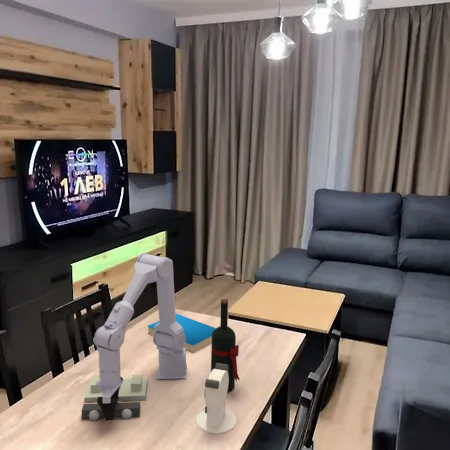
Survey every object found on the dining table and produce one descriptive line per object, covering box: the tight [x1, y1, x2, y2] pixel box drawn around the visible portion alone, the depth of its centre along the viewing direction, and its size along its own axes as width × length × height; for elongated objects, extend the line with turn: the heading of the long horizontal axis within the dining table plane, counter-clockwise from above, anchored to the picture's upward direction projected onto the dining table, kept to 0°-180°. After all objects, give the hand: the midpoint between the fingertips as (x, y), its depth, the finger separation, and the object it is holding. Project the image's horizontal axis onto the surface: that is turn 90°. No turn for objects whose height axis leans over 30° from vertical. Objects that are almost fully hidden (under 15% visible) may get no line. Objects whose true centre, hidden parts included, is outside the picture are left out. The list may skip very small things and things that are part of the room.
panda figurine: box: [195, 363, 237, 435], centre depth 126 cm, size 12×11×15 cm
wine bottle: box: [210, 297, 240, 394], centre depth 140 cm, size 8×10×30 cm
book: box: [147, 313, 217, 354], centre depth 179 cm, size 17×4×25 cm
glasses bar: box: [81, 401, 141, 421], centre depth 128 cm, size 16×4×3 cm, turn 96°
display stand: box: [83, 374, 148, 403], centre depth 139 cm, size 18×10×4 cm, turn 96°
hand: (111, 411), depth 128 cm, fingers open, 7 cm apart
